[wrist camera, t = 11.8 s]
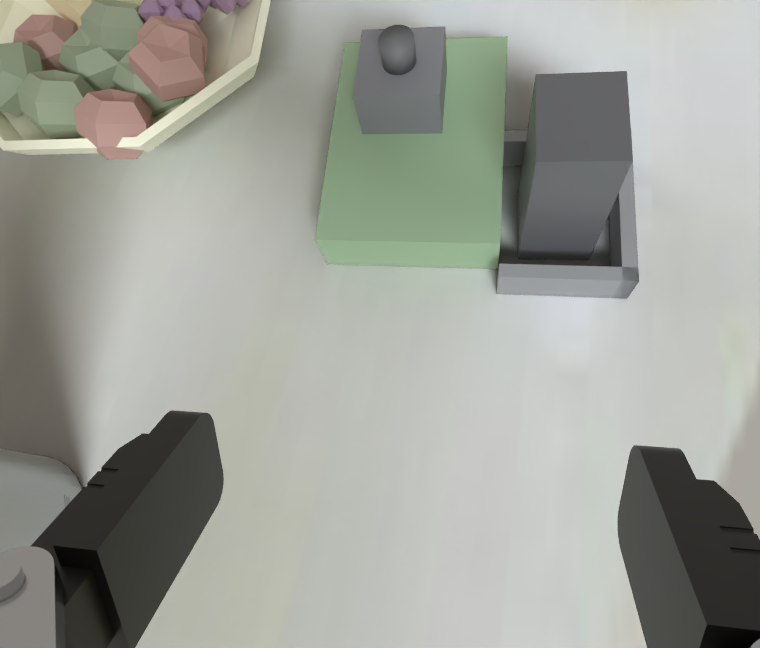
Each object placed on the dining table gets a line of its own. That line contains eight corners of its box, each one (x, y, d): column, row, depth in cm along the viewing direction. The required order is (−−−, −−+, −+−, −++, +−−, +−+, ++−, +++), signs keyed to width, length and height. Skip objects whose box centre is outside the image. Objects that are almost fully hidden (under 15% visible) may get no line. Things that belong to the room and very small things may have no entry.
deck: (324, 287, 44) (285, 222, 35) (353, 78, 51) (327, -24, 41) (627, 298, 40) (674, 228, 31) (617, 71, 47) (653, -43, 38)
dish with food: (160, -64, 61) (75, -229, 48) (363, 38, 52) (327, -130, 39) (-36, 122, 56) (-192, -5, 43) (152, 270, 47) (28, 168, 34)
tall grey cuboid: (518, 259, 43) (536, 161, 31) (518, 189, 45) (535, 74, 33) (588, 260, 42) (632, 161, 31) (586, 188, 44) (626, 71, 33)
